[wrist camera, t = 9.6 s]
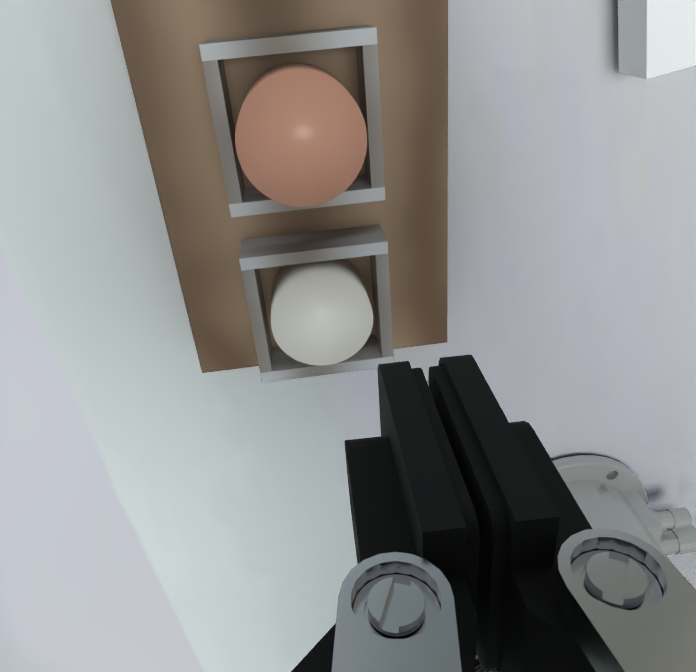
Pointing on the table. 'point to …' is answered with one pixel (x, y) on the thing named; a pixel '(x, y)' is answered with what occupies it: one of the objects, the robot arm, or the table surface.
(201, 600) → the table surface
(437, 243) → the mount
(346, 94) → the middle button
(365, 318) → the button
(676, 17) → the bracket
